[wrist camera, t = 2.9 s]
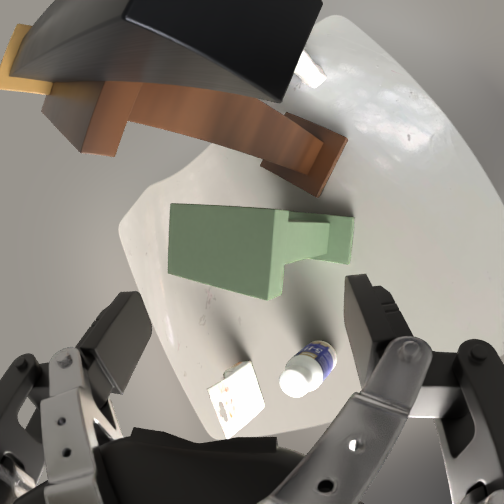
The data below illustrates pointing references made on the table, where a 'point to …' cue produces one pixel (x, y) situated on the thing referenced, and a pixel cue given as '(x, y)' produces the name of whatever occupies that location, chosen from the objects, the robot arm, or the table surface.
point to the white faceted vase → (309, 71)
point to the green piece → (251, 245)
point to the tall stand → (195, 124)
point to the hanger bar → (163, 44)
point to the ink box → (237, 397)
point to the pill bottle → (308, 368)
